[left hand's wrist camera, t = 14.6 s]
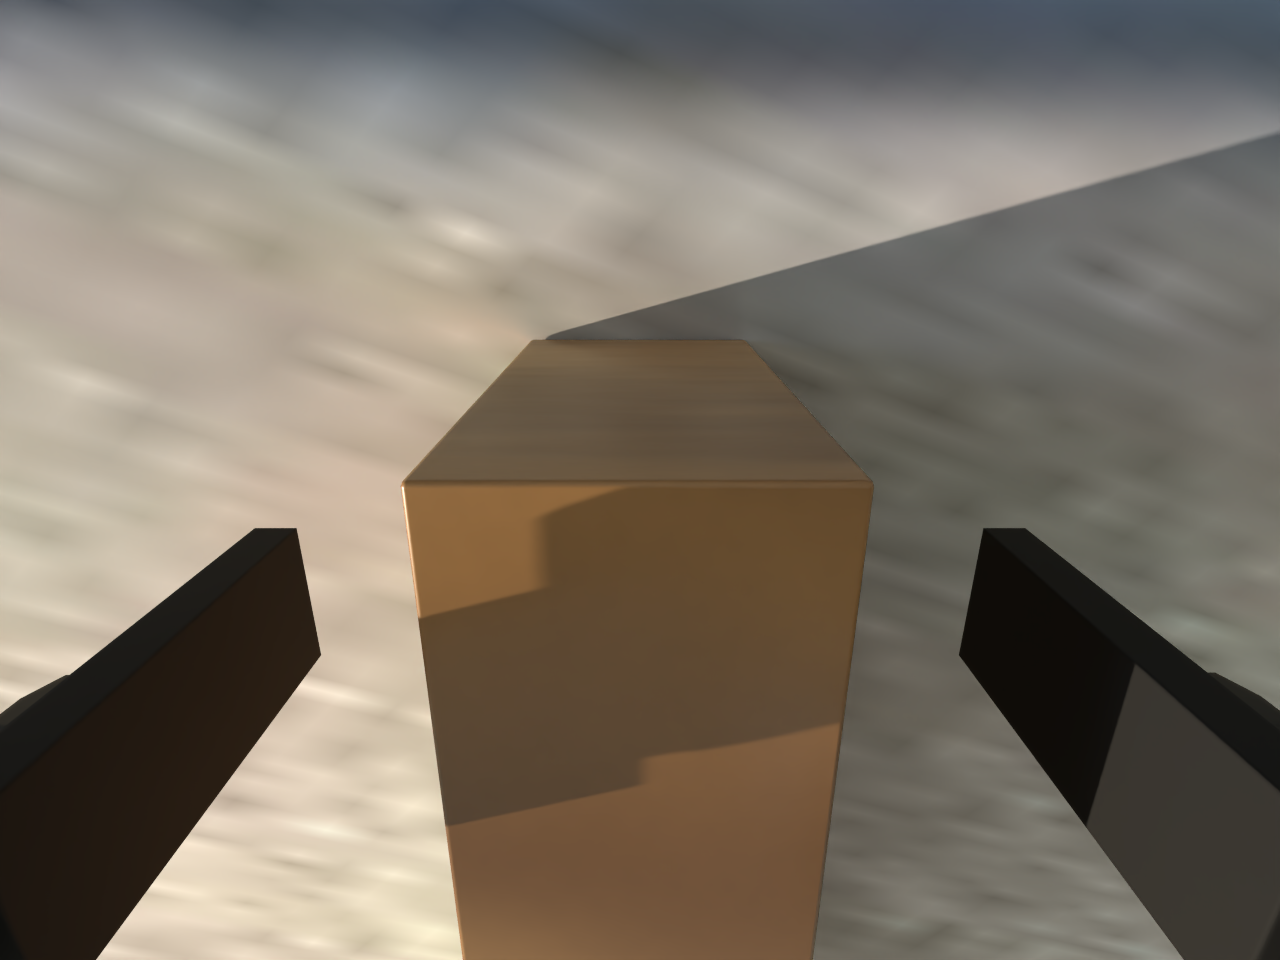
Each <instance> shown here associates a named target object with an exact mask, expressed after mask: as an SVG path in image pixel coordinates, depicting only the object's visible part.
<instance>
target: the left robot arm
mask: <svg viewBox="0 0 1280 960" xmlns="http://www.w3.org/2000/svg"><path fill="white" fill-rule="evenodd" d="M320 656H321V652H320V647H319V642H318V637H317V632H316V626H315V621H314V616H313V611H312V606H311V601H310V596H309V590H308V585H307V580H306V575H305V570H304V565H303V559H302V554H301V549H300V544H299V539H298V534H297V528H255V529H253V530H252V531H251V532H250V533H248V534H247V535H246V536H245V537H243V538H242V539H241V540H239V541H238V542H237V543H236V544H234V545H233V546H232V547H231V548H229V549H228V550H227V551H226V552H224V553H223V554H222V555H221V556H219V557H218V558H217V559H215V560H214V561H213V562H212V563H210V564H209V565H208V566H207V567H205V568H204V569H203V570H202V571H200V572H199V573H198V574H197V575H195V576H194V577H193V578H192V579H190V580H189V581H188V582H186V583H185V584H184V585H183V586H181V587H180V588H179V589H178V590H176V591H175V592H174V593H173V594H171V595H170V596H169V597H168V598H166V599H165V600H164V601H162V602H161V603H160V604H159V605H157V606H156V607H155V608H154V609H152V610H151V611H150V612H149V613H147V614H146V615H145V616H144V617H142V618H141V619H140V620H138V621H137V622H136V623H135V624H133V625H132V626H131V627H130V628H128V629H127V630H126V631H125V632H123V633H122V634H121V635H120V636H118V637H117V638H116V639H115V640H113V641H112V642H111V643H109V644H108V645H107V646H106V647H104V648H103V649H102V650H101V651H99V652H98V653H97V654H96V655H94V656H93V657H92V658H91V659H89V660H88V661H87V662H85V663H84V664H83V665H82V666H80V667H79V668H78V669H77V670H75V671H74V672H73V673H72V674H70V675H65V676H63V677H61V678H59V679H57V680H55V681H53V682H52V683H50V684H48V685H46V686H44V687H42V688H40V689H38V690H36V691H34V692H32V693H30V694H29V695H27V696H25V697H23V698H21V699H19V700H18V701H17V702H15V703H14V704H13V705H12V706H10V707H9V708H8V709H6V710H5V711H4V712H2V713H1V714H0V960H96V959H97V958H98V956H99V955H100V954H101V952H102V951H103V950H104V948H105V947H106V945H107V944H108V943H109V941H110V940H111V939H112V937H113V936H114V935H115V933H116V932H117V931H118V929H119V928H120V926H121V925H122V924H123V922H124V921H125V920H126V918H127V917H128V916H129V914H130V913H131V912H132V910H133V909H134V908H135V906H136V905H137V903H138V902H139V901H140V899H141V898H142V897H143V895H144V894H145V893H146V891H147V890H148V889H149V887H150V886H151V885H152V883H153V882H154V880H155V879H156V878H157V876H158V875H159V874H160V872H161V871H162V870H163V868H164V867H165V866H166V864H167V863H168V862H169V860H170V859H171V857H172V856H173V855H174V853H175V852H176V851H177V849H178V848H179V847H180V845H181V844H182V843H183V841H184V840H185V839H186V837H187V836H188V834H189V833H190V832H191V830H192V829H193V828H194V826H195V825H196V824H197V822H198V821H199V820H200V818H201V817H202V815H203V814H204V813H205V811H206V810H207V809H208V807H209V806H210V805H211V803H212V802H213V801H214V799H215V798H216V797H217V795H218V794H219V792H220V791H221V790H222V788H223V787H224V786H225V784H226V783H227V782H228V780H229V779H230V778H231V776H232V775H233V774H234V772H235V771H236V769H237V768H238V767H239V765H240V764H241V763H242V761H243V760H244V759H245V757H246V756H247V755H248V753H249V752H250V751H251V749H252V748H253V746H254V745H255V744H256V742H257V741H258V740H259V738H260V737H261V736H262V734H263V733H264V732H265V730H266V729H267V727H268V726H269V725H270V723H271V722H272V721H273V719H274V718H275V717H276V715H277V714H278V713H279V711H280V710H281V709H282V707H283V706H284V704H285V703H286V702H287V700H288V699H289V698H290V696H291V695H292V694H293V692H294V691H295V690H296V688H297V687H298V686H299V684H300V683H301V681H302V680H303V679H304V677H305V676H306V675H307V673H308V672H309V671H310V669H311V668H312V667H313V665H314V664H315V663H316V661H317V660H318V658H319V657H320ZM959 656H960V657H961V658H962V660H963V661H964V662H965V664H966V665H967V667H968V668H969V669H970V671H971V672H972V673H973V675H974V676H975V677H976V679H977V680H978V681H979V683H980V684H981V686H982V687H983V688H984V690H985V691H986V692H987V694H988V695H989V696H990V698H991V699H992V700H993V702H994V703H995V704H996V706H997V707H998V709H999V710H1000V711H1001V713H1002V714H1003V715H1004V717H1005V718H1006V719H1007V721H1008V722H1009V723H1010V725H1011V726H1012V727H1013V729H1014V730H1015V732H1016V733H1017V734H1018V736H1019V737H1020V738H1021V740H1022V741H1023V742H1024V744H1025V745H1026V746H1027V748H1028V749H1029V750H1030V752H1031V753H1032V755H1033V756H1034V757H1035V759H1036V760H1037V761H1038V763H1039V764H1040V765H1041V767H1042V768H1043V769H1044V771H1045V772H1046V773H1047V775H1048V776H1049V778H1050V779H1051V780H1052V782H1053V783H1054V784H1055V786H1056V787H1057V788H1058V790H1059V791H1060V792H1061V794H1062V795H1063V797H1064V798H1065V799H1066V801H1067V802H1068V803H1069V805H1070V806H1071V807H1072V809H1073V810H1074V811H1075V813H1076V814H1077V815H1078V817H1079V818H1080V820H1081V821H1082V822H1083V824H1084V825H1085V826H1086V828H1087V829H1088V830H1089V832H1090V833H1091V834H1092V836H1093V837H1094V838H1095V840H1096V841H1097V843H1098V844H1099V845H1100V847H1101V848H1102V849H1103V851H1104V852H1105V853H1106V855H1107V856H1108V857H1109V859H1110V860H1111V861H1112V863H1113V864H1114V866H1115V867H1116V868H1117V870H1118V871H1119V872H1120V874H1121V875H1122V876H1123V878H1124V879H1125V880H1126V882H1127V883H1128V885H1129V886H1130V887H1131V889H1132V890H1133V891H1134V893H1135V894H1136V895H1137V897H1138V898H1139V899H1140V901H1141V902H1142V903H1143V905H1144V906H1145V908H1146V909H1147V910H1148V912H1149V913H1150V914H1151V916H1152V917H1153V918H1154V920H1155V921H1156V922H1157V924H1158V925H1159V926H1160V928H1161V929H1162V931H1163V932H1164V933H1165V935H1166V936H1167V937H1168V939H1169V940H1170V941H1171V943H1172V944H1173V945H1174V947H1175V948H1176V949H1177V951H1178V952H1179V954H1180V955H1181V956H1182V958H1183V959H1184V960H1280V711H1279V710H1278V709H1277V708H1275V707H1274V706H1273V705H1272V704H1270V703H1269V702H1268V701H1266V700H1265V699H1264V698H1262V697H1261V696H1259V695H1257V694H1255V693H1253V692H1252V691H1250V690H1248V689H1246V688H1244V687H1242V686H1240V685H1238V684H1236V683H1234V682H1232V681H1230V680H1228V679H1226V678H1224V677H1223V676H1221V675H1219V674H1217V673H1207V672H1206V671H1205V670H1203V669H1202V668H1201V667H1200V666H1198V665H1197V664H1196V663H1195V662H1193V661H1192V660H1191V659H1189V658H1188V657H1187V656H1186V655H1184V654H1183V653H1182V652H1181V651H1179V650H1178V649H1177V648H1176V647H1174V646H1173V645H1172V644H1171V643H1169V642H1168V641H1167V640H1166V639H1164V638H1163V637H1162V636H1160V635H1159V634H1158V633H1157V632H1155V631H1154V630H1153V629H1152V628H1150V627H1149V626H1148V625H1147V624H1145V623H1144V622H1143V621H1142V620H1140V619H1139V618H1138V617H1136V616H1135V615H1134V614H1133V613H1131V612H1130V611H1129V610H1128V609H1126V608H1125V607H1124V606H1123V605H1121V604H1120V603H1119V602H1118V601H1116V600H1115V599H1114V598H1112V597H1111V596H1110V595H1109V594H1107V593H1106V592H1105V591H1104V590H1102V589H1101V588H1100V587H1099V586H1097V585H1096V584H1095V583H1094V582H1092V581H1091V580H1090V579H1089V578H1087V577H1086V576H1085V575H1083V574H1082V573H1081V572H1080V571H1078V570H1077V569H1076V568H1075V567H1073V566H1072V565H1071V564H1070V563H1068V562H1067V561H1066V560H1065V559H1063V558H1062V557H1061V556H1059V555H1058V554H1057V553H1056V552H1054V551H1053V550H1052V549H1051V548H1049V547H1048V546H1047V545H1046V544H1044V543H1043V542H1042V541H1041V540H1039V539H1038V538H1037V537H1035V536H1034V535H1033V534H1032V533H1030V532H1029V531H1028V530H1027V529H1025V528H984V529H983V534H982V539H981V544H980V549H979V554H978V559H977V565H976V570H975V575H974V580H973V585H972V590H971V596H970V601H969V606H968V611H967V616H966V621H965V627H964V632H963V637H962V642H961V647H960V652H959Z"/></svg>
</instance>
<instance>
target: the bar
mask: <svg viewBox="0 0 1280 960" xmlns="http://www.w3.org/2000/svg"><path fill="white" fill-rule="evenodd" d="M873 490H874V485H873V482H872V481H871V480H870V478H869V477H868V476H867V475H866V474H865V473H864V472H863V471H862V470H861V468H860V467H859V466H858V465H857V464H856V463H855V462H854V461H853V460H852V458H851V457H850V456H849V455H848V454H847V453H846V452H845V451H844V450H843V448H842V447H841V446H840V445H839V444H838V443H837V442H836V441H835V440H834V439H833V437H832V436H831V435H830V434H829V433H828V432H827V431H826V430H825V429H824V427H823V426H822V425H821V424H820V423H819V422H818V421H817V420H816V419H815V417H814V416H813V415H812V414H811V413H810V412H809V411H808V410H807V409H806V407H805V406H804V405H803V404H802V403H801V402H800V401H799V400H798V399H797V398H796V396H795V395H794V394H793V393H792V392H791V391H790V390H789V389H788V388H787V386H786V385H785V384H784V383H783V382H782V381H781V380H780V379H779V378H778V376H777V375H776V374H775V373H774V372H773V371H772V370H771V369H770V368H769V366H768V365H767V364H766V363H765V362H764V361H763V360H762V359H761V358H760V357H759V355H758V354H757V353H756V352H755V351H754V350H753V349H752V348H751V347H750V345H749V344H748V343H747V342H746V341H744V340H532V341H531V342H530V343H529V344H528V345H527V346H526V347H525V348H524V349H523V350H522V352H521V353H520V354H519V355H518V356H517V357H516V358H515V359H514V360H513V361H512V362H511V364H510V365H509V366H508V367H507V368H506V369H505V370H504V371H503V372H502V373H501V374H500V376H499V377H498V378H497V379H496V380H495V381H494V382H493V383H492V384H491V385H490V386H489V388H488V389H487V390H486V391H485V392H484V393H483V394H482V395H481V396H480V397H479V399H478V400H477V401H476V402H475V403H474V404H473V405H472V406H471V407H470V408H469V409H468V411H467V412H466V413H465V414H464V415H463V416H462V417H461V418H460V419H459V420H458V421H457V423H456V424H455V425H454V426H453V427H452V428H451V429H450V430H449V431H448V432H447V433H446V435H445V436H444V437H443V438H442V439H441V440H440V441H439V442H438V443H437V444H436V445H435V447H434V448H433V449H432V450H431V451H430V452H429V453H428V454H427V455H426V456H425V457H424V459H423V460H422V461H421V462H420V463H419V464H418V465H417V466H416V467H415V468H414V470H413V471H412V472H411V473H410V474H409V475H408V476H407V477H406V478H405V479H404V480H403V482H402V484H401V491H402V499H403V506H404V514H405V522H406V529H407V537H408V544H409V552H410V560H411V567H412V575H413V583H414V590H415V598H416V605H417V613H418V621H419V628H420V636H421V644H422V651H423V659H424V666H425V674H426V682H427V689H428V697H429V705H430V712H431V720H432V727H433V735H434V743H435V750H436V758H437V766H438V773H439V781H440V788H441V796H442V804H443V811H444V819H445V827H446V834H447V842H448V849H449V857H450V865H451V872H452V880H453V888H454V895H455V903H456V911H457V918H458V926H459V933H460V941H461V949H462V956H463V960H813V953H814V945H815V938H816V930H817V922H818V914H819V907H820V899H821V891H822V884H823V876H824V868H825V860H826V853H827V845H828V837H829V830H830V822H831V814H832V806H833V799H834V791H835V783H836V776H837V768H838V760H839V752H840V745H841V737H842V729H843V722H844V714H845V706H846V698H847V691H848V683H849V675H850V668H851V660H852V652H853V644H854V637H855V629H856V621H857V614H858V606H859V598H860V590H861V583H862V575H863V567H864V560H865V552H866V544H867V536H868V529H869V521H870V513H871V505H872V498H873Z"/></svg>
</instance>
